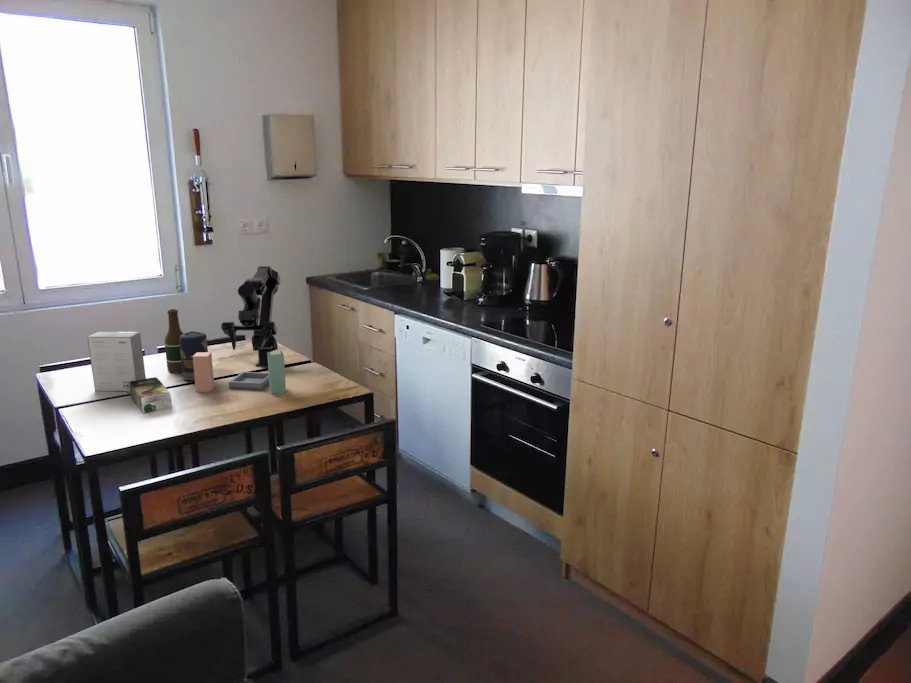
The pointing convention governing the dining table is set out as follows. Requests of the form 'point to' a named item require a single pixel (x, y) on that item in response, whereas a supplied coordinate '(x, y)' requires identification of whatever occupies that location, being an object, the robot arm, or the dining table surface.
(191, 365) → the canister
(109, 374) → the hard drive box
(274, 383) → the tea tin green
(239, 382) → the tray
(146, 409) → the juice carton
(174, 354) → the beer bottle
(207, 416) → the dining table surface
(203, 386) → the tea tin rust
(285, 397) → the dining table surface
